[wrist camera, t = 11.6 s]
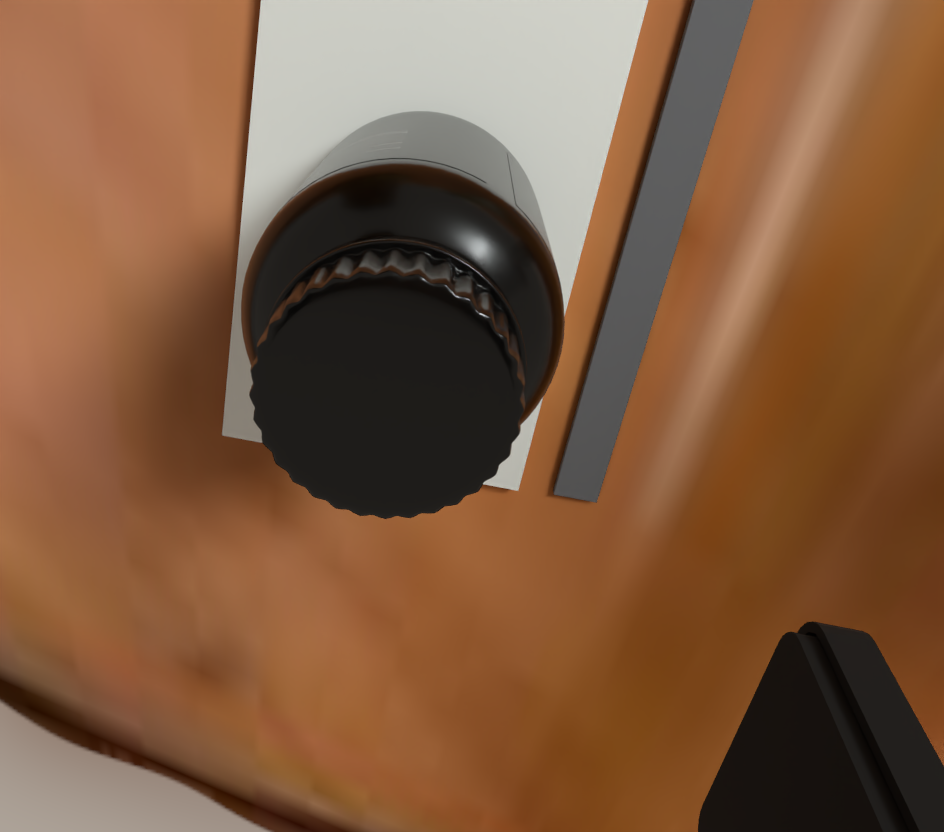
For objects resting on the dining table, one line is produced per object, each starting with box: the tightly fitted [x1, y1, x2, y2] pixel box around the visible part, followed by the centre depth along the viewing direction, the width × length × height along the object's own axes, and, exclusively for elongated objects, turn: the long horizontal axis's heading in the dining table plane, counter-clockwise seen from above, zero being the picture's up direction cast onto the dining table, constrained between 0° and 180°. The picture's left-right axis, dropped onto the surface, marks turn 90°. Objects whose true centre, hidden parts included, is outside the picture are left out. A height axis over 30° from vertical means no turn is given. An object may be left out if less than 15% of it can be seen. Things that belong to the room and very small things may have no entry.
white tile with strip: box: [222, 0, 753, 503], centre depth 26 cm, size 13×16×1 cm
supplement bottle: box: [241, 111, 565, 519], centre depth 20 cm, size 7×7×12 cm
